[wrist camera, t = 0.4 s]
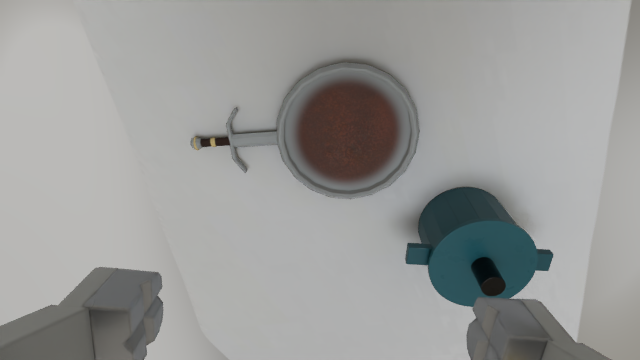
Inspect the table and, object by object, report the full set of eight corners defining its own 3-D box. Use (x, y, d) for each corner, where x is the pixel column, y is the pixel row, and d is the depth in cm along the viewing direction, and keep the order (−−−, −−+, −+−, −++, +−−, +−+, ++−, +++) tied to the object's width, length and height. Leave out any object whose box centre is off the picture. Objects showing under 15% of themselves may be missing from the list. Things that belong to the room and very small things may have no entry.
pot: (403, 184, 52) (414, 217, 44) (534, 189, 51) (568, 224, 44) (394, 256, 57) (402, 297, 49) (513, 261, 56) (540, 304, 49)
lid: (435, 212, 45) (445, 236, 40) (545, 217, 44) (568, 242, 40) (420, 297, 50) (428, 326, 45) (519, 302, 49) (536, 332, 45)
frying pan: (169, 76, 45) (423, 57, 42) (179, 72, 47) (418, 53, 45) (201, 209, 52) (419, 199, 49) (208, 198, 55) (415, 189, 52)
